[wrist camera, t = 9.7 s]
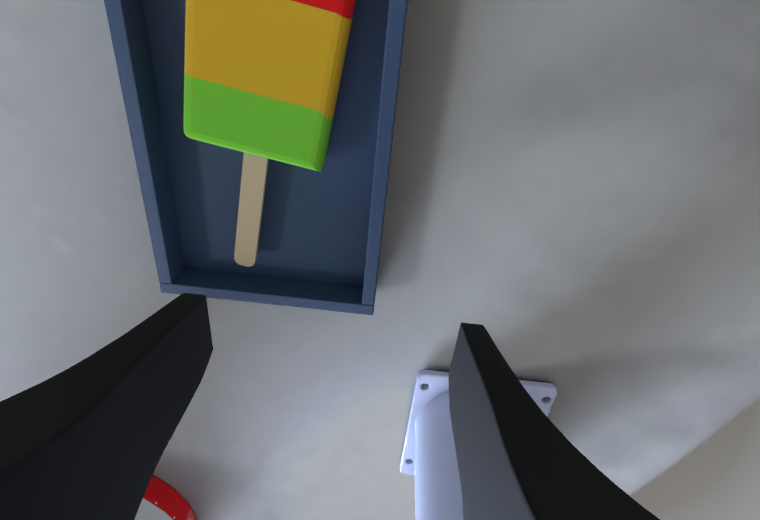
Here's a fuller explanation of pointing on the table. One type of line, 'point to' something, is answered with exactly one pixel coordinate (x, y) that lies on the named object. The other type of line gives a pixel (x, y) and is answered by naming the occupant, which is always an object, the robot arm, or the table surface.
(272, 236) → the tray
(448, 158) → the table surface
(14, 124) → the table surface
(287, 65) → the popsicle
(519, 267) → the table surface
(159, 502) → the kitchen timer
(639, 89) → the table surface
